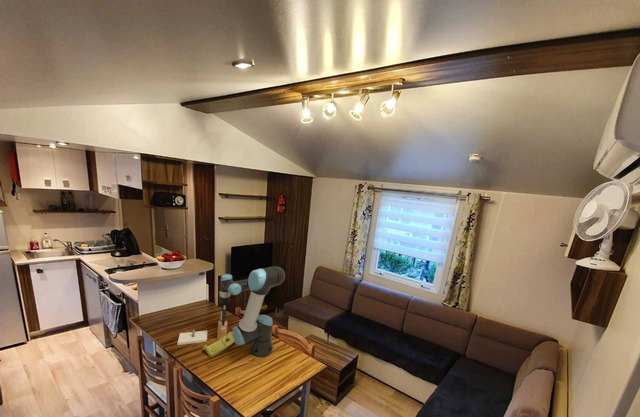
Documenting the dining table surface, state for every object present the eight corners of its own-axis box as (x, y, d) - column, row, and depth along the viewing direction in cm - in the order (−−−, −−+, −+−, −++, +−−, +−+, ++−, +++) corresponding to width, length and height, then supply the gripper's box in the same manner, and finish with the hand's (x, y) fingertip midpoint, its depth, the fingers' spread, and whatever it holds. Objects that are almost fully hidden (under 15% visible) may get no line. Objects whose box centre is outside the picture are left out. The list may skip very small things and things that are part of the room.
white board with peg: (206, 341, 180) (207, 332, 180) (177, 344, 173) (178, 335, 173) (207, 332, 191) (207, 324, 191) (179, 335, 184) (180, 326, 184)
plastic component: (211, 355, 163) (203, 343, 167) (208, 362, 165) (201, 350, 170) (238, 340, 179) (230, 329, 184) (234, 347, 182) (227, 336, 186)
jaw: (226, 338, 186) (227, 324, 186) (217, 339, 184) (218, 325, 184) (226, 333, 193) (227, 320, 192) (217, 334, 191) (218, 320, 190)
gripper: (219, 289, 197) (217, 316, 198) (219, 304, 174) (216, 334, 175) (229, 289, 200) (227, 315, 201) (231, 303, 177) (228, 333, 178)
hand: (222, 324), depth 188 cm, fingers open, 13 cm apart
